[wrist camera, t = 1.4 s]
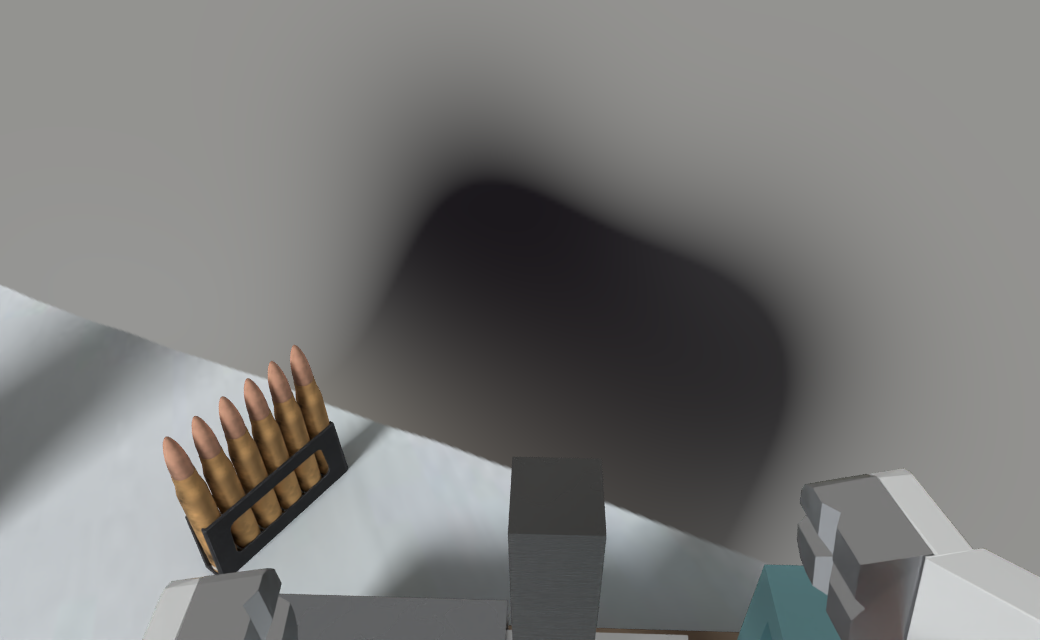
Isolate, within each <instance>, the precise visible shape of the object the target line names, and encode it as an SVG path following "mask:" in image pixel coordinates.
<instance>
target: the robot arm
mask: <svg viewBox="0 0 1040 640" xmlns="http://www.w3.org/2000/svg"><path fill="white" fill-rule="evenodd" d="M800 504H801V506H802V508H803V509H804V511H805V513H806V516H805V517H804V518H803V519H802V520H801V521H800V522H799V523H798V533H797V542H798V547H799V553H800V558H801V561H802V563H803V566H804V569H805V572H806V574H807V576H808V578H809V580H810V582H811V584H812V586H814V587H815V588H817V589H818V590H820V591H822V592H823V593H825V594H826V595H828V597H827V605H826V612H827V614H828V616H829V618H830V620H831V622H832V624H833V625H834V627H835V629H836V631H837V633H838V635H839V637H840V639H841V640H1040V577H1039V576H1037V575H1035V574H1033V573H1031V572H1029V571H1027V570H1025V569H1023V568H1022V567H1020V566H1018V565H1016V564H1014V563H1012V562H1010V561H1008V560H1006V559H1004V558H1002V557H1000V556H998V555H996V554H994V553H992V552H990V551H989V550H987V549H985V548H981V549H973V548H972V547H971V546H970V544H969V543H968V542H967V541H966V540H965V538H964V537H963V536H962V535H961V533H960V532H959V531H958V530H957V528H956V527H955V526H954V525H953V524H952V522H951V521H950V520H949V519H948V517H947V516H946V515H945V514H944V513H943V511H942V510H941V509H940V508H939V506H938V505H937V504H936V503H935V501H934V500H933V499H932V498H931V496H930V495H929V494H928V493H927V492H926V490H925V489H924V488H923V487H922V485H921V484H920V483H919V482H918V481H917V479H916V478H915V477H914V476H913V474H912V473H911V472H909V471H908V470H906V469H904V468H902V469H895V470H889V471H883V472H877V473H871V474H869V475H868V474H863V475H858V476H851V477H845V478H839V479H833V480H827V481H822V482H815V483H810V484H805V485H804V487H803V488H802V490H801V497H800ZM280 588H281V581H280V579H279V577H278V575H277V573H276V571H275V569H271V568H265V569H258V570H250V571H242V572H234V573H227V574H219V575H211V576H204V577H200V578H192V579H185V580H177V581H172V582H171V583H170V584H169V585H168V586H167V587H166V588H165V589H164V590H163V592H162V594H161V596H160V599H159V601H158V604H157V606H156V608H155V611H154V613H153V615H152V618H151V620H150V622H149V625H148V627H147V629H146V632H145V634H144V637H143V639H142V640H298V626H297V622H296V617H295V613H294V610H293V608H292V606H291V603H290V602H288V601H286V600H285V599H283V598H281V597H279V592H280Z"/></svg>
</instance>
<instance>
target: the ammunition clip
mask: <svg viewBox="0 0 1040 640" xmlns="http://www.w3.org/2000/svg"><path fill="white" fill-rule="evenodd" d="M290 362H291V363H290V364H291V370H292V375H293V379H294V385H295V390H296V401H295V398H294V396H293V393H292V391H291V389H290V386H289V383H288V381H287V379H286V377H285V375H284V373H283V371H282V370H281V369H280V367H279V366H278V365H277V364H276V363H275V362H273V361H271V362H270V363H269V367H268V383H269V389H270V392H271V396H272V401H273V405H274V416H275V419H276V421H275V419H274V418H273V415H272V413H271V411H270V409H269V407H268V404H267V401H266V399H265V397H264V395H263V393H262V392H261V390H260V389H259V387H258V386H257V385H256V384H255V383H254V382H253V381H252V380H251V379H249V378H247V379H246V381H245V384H244V398H245V403H246V408H247V411H248V414H249V418H250V422H251V426H252V435H253V438H252V437H251V436H250V434H249V432H248V429H247V427H246V426H245V424H244V421H243V419H242V417H241V415H240V413H239V412H238V410H237V409H236V407H235V406H234V405H233V404H232V402H231V401H230V400H228V399H227V398H226V397H223V396H222V397H221V398H220V401H219V415H220V420H221V425H222V428H223V431H224V433H225V438H226V441H227V444H228V452H229V456H230V459H231V461H232V462H231V461H230V460H229V458H228V457H227V456H226V455H225V453H224V451H223V449H222V447H221V446H220V444H219V442H218V440H217V438H216V436H215V434H214V433H213V431H212V430H211V428H210V427H209V426H208V425H207V424H206V423H205V422H204V420H202V419H201V418H200V417H198V416H194V417H193V420H192V434H193V440H194V443H195V447H196V449H197V452H198V454H199V458H200V461H201V463H202V468H203V474H204V477H205V479H206V482H207V484H208V486H209V488H210V490H211V492H210V490H209V488H208V486H207V484H206V482H205V481H204V480H203V479H202V478H201V476H200V475H199V474H198V472H197V470H196V469H195V467H194V466H193V464H192V462H191V460H190V458H189V457H188V455H187V454H186V452H185V451H184V450H183V449H182V447H181V446H180V445H179V444H178V443H177V442H176V441H175V440H173V439H172V438H170V437H165V438H164V441H163V453H164V458H165V462H166V465H167V468H168V470H169V472H170V474H171V478H172V480H173V483H174V485H175V489H176V495H177V498H178V500H179V502H180V504H181V506H182V508H183V510H184V512H185V514H186V517H185V518H186V520H187V523H188V525H189V527H190V530H191V532H192V534H193V537H194V539H195V542H196V544H197V546H198V549H199V551H200V553H201V556H202V558H203V561H204V563H205V565H206V568H208V569H209V570H210V571H211V572H213V573H214V574H215V575H219V574H227V573H234V572H237V571H238V570H239V569H240V568H241V567H242V566H243V565H244V564H246V563H247V562H248V561H249V560H250V559H251V558H252V557H253V556H254V555H255V554H257V553H258V552H259V551H260V550H261V549H262V548H263V547H264V546H265V545H266V544H267V543H269V542H270V541H271V540H272V539H273V538H274V537H275V536H276V535H277V534H278V533H280V532H281V531H282V530H283V529H284V528H285V527H286V526H287V525H288V524H289V523H290V522H292V521H293V520H294V519H295V518H296V517H297V516H298V515H299V514H300V513H301V512H303V511H304V510H305V509H306V508H307V507H308V506H309V505H310V504H311V503H312V502H314V501H315V500H316V499H317V498H318V497H319V496H320V495H321V494H322V493H323V492H324V491H326V490H327V489H328V488H329V487H330V486H331V485H332V484H333V483H334V482H335V481H337V480H338V479H339V478H340V477H341V476H342V475H343V474H344V473H345V472H346V471H347V469H348V466H347V463H346V460H345V457H344V454H343V451H342V448H341V445H340V442H339V438H338V435H337V432H336V429H335V426H334V423H333V422H331V421H330V422H329V419H328V416H327V412H326V408H325V405H324V401H323V397H322V394H321V392H320V390H319V388H318V386H317V385H316V382H315V379H314V376H313V374H312V371H311V368H310V365H309V363H308V361H307V359H306V357H305V355H304V354H303V352H302V351H301V349H299V347H297V346H296V345H293V346H292V349H291V356H290ZM253 439H254V440H253ZM233 466H234V467H233ZM234 468H235V469H234ZM236 473H237V474H236ZM211 493H212V495H211ZM218 508H219V509H218ZM219 510H220V511H219Z"/></svg>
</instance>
